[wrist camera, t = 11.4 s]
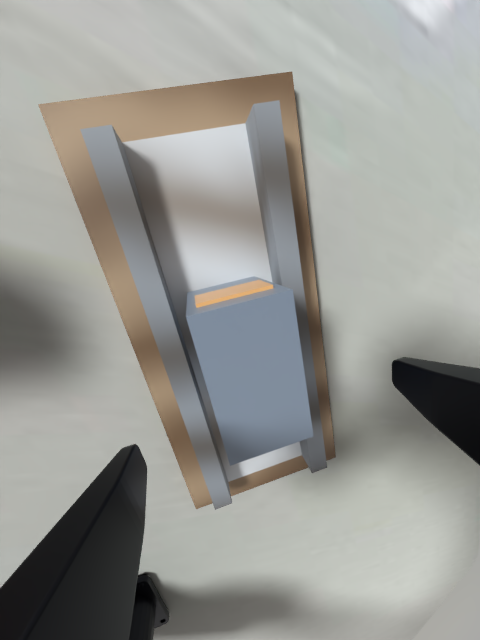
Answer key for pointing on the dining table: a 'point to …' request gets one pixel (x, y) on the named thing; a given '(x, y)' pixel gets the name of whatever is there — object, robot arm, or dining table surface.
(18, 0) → the dining table surface
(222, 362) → the block
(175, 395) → the rail mount
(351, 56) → the dining table surface
